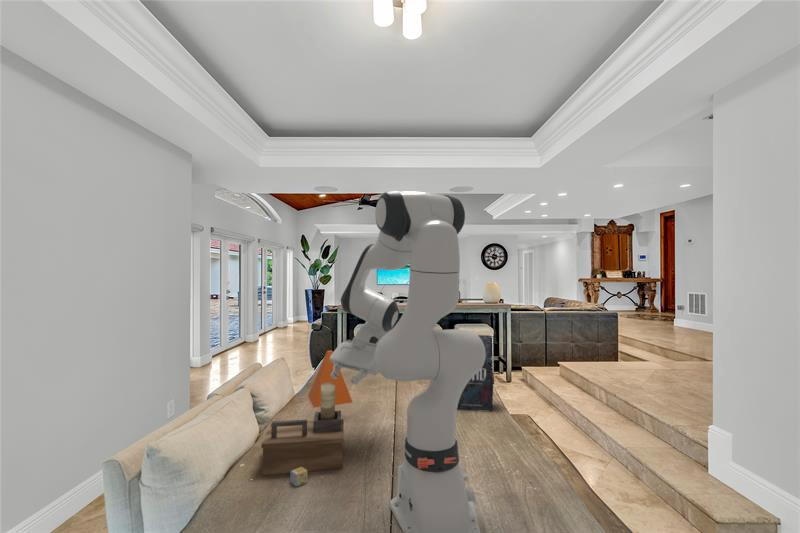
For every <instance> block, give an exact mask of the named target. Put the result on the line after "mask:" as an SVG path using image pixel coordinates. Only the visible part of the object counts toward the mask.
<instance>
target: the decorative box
mask: <svg viewBox="0 0 800 533" xmlns="http://www.w3.org/2000/svg"><path fill="white" fill-rule="evenodd" d="M477 335H478V336H479V337H480V339H481V340H482V342H483V344H484V347H485V352H486V356H485V362H484V365H483V367H482V368H481V370H480V371H479V372H478V373H476V374H475V375H474V376H473V377H472V378H471V379H470V381H469V382H468V383H467V385H466V386H465V388H464V390H463V392H462V394H461V396H460V399H459V402H458V406H457V410H460V409H461V411H462V410H463V411H478V410H489V411H488V412H491V411H490V410H492V411H493V400H494V397H493V396H494V380H493V369H492V368H493V366H492V338H491V335H489V334H488V335H487V334H486V335H485V334H484V335H483V334H477Z"/></svg>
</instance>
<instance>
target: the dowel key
mask: <svg viewBox="0 0 800 533" xmlns="http://www.w3.org/2000/svg"><path fill="white" fill-rule="evenodd" d="M335 411H336V405H335V384H334V383H323V384H321V407H320V412H321V420H330V419H335Z"/></svg>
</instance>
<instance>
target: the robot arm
mask: <svg viewBox="0 0 800 533" xmlns="http://www.w3.org/2000/svg"><path fill="white" fill-rule="evenodd" d="M374 213H375V214H374V215H375V222H376V226H377V228H378V229H379V233H378V237H377V240H376V242H374V243H370V244H368V245H367V246H366V247H365V248H364V249H363V251H362V253H361V254H360V256H359V258H358V261H357V263H356V265H355V268H354V270H353V272H352V275H351V277H350V279H349V281H348V283H347V285H346V288H345V290H343V293H342V295H341V297H340V303H341V304H340V305H341V307H342V309H343V311H344V312H346V313H348V314H350V315H353V316H356V317H357V318H359V319H362V320H363V321H365V323H363V325H362V326H361V327H359V329H358V331H357V332H356V333H355V335H354V336H353V338H352V340H351V339H347V340H345V341H343V342H341V343H339V345H338V346H337V347H336V348H335V349H334V351H333V353H332V354H331V356H330V361H331V362H332V363H333V364H334V367H333V372H332V373H331V375H330V376H331V377H332V378H334V379H337V377H338V376H339V374H338V371H339V369H340V370H341V369H342V368H345V369H348V370H352V371H355V372H358V373H357V374H356V375H355V376H354V375H353V376H352V377H351V379H350V383H351V384H352V385H355V386H357V385H358V384H359V383H360V381H361V380H363V379H364V378H365V377H367V376H368V375H372V376H377V375H378V374H380V375H381V376H382V377H383V378H384V379H386V380H393V381H399V382H416V381H429V382H428V384H427V386H426V387H425V388H424V389H423V390H422V391H420V392H419V393H417V394H416V395H415V396H413V397H412V399H411V400H410V401H409V403H408V406H407V409H406V437H405V440H404V456H405V457H404V459H403V461H402V463H401V464H400V465H399V466H398V467H397V468H398V469H397V470H398V471H397V491H396V493H397V495H396V496H395V497H393V498H392V499H391V500H390V501H389V509H390V510H391V512H392V513H393V514H392V515H393V516H394V518H395V519H396V521H397V523H398V525H399V526H400V528H401V531H402V532H403V533H481V529H480V525H479V522H478V521H479V520H478V517H477V513H476V510H475V506H474V502H475V492H474V488H473V489H472V488H467V486H466V483H465V482H467V481H468V474H467V473H464V472H463V469H462V468H463V467H462V466H463V465H462V461H461V460H460V457H459V454H460V451H459V446H458V445H459V444H458V440H457V437H456V435H457V433H456V431H457V415H458V414H457V412H458V409H457V406H458V402H459V399H460V396H461V394H462V392H463V390H464V388H465V386H466V385H467V383H468V382H469V381H470V379H471V378H472V377H473V376H474V375H475V374H476V373H478V372H479V371H480V370H481V368H482V367H483V365H484V362H485V356H486V352H485V347H484V344H483V342H482V340H481V339H480V337H479V336H478V335H479V334H477V332H474V331H469V330H466V329H465V330H463V329H457V328H453V329H452V328H451V329H435V327H436V325H437V323H439V321H440V320H441V319H442V318H444V317H446V316H447V315H449V314H450V313H452V312H453V311H454V310H455V308H456V307H457V305H458V303H459V288H460V269H461V268H460V267H461V265H460V264H461V262H460V261H461V260H460V259H461V258H460V257H461V256H460V243H459V237H458V235H459V233H460V232H461V231H462V229H463V227H464V224H465V221H466V220H465V219H466V212H465V207H464V205H463V203H462V201H461V200H460V199H458V198H457V197H454V196H451V195H447V194H445V195H441V194H436V193H430V192H424V191H420V190H419V191H418V190H415V191H414V190H407V191H406V190H403V191H400V190H390V191H386V192H383V193H382V194H381V195H380V197H379V198H378V199H377V202H376V206H375V212H374ZM409 264H410V265H409ZM408 265H409V281H408V292H407V301H406V304H405V307H404V310H403V313H402V314H401V316H400V307H399V306H398V304H397V302H396V301H395V300H393V299H392V298H390V297H388V296H386V295H385V294H381V293H380V292H378V291H376V290H373V289H371V288H370V287H368V286H367V285H366V281H367V279H368V276H369V274H370V272H371V271H372V270H383V271H384V270H385V271H397V270H400V269H403V268H405V267H407V266H408ZM399 317H400V318H399Z"/></svg>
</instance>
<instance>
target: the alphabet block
mask: <svg viewBox="0 0 800 533" xmlns="http://www.w3.org/2000/svg"><path fill="white" fill-rule="evenodd" d="M306 483H308V471H307V470H306V469H304V468H303V467H300V468H297V469H295V470H292V471H291V473H290V484H292V485H293V486H295V487H296V488H297V487H300V486H302V485H304V484H306Z"/></svg>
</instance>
